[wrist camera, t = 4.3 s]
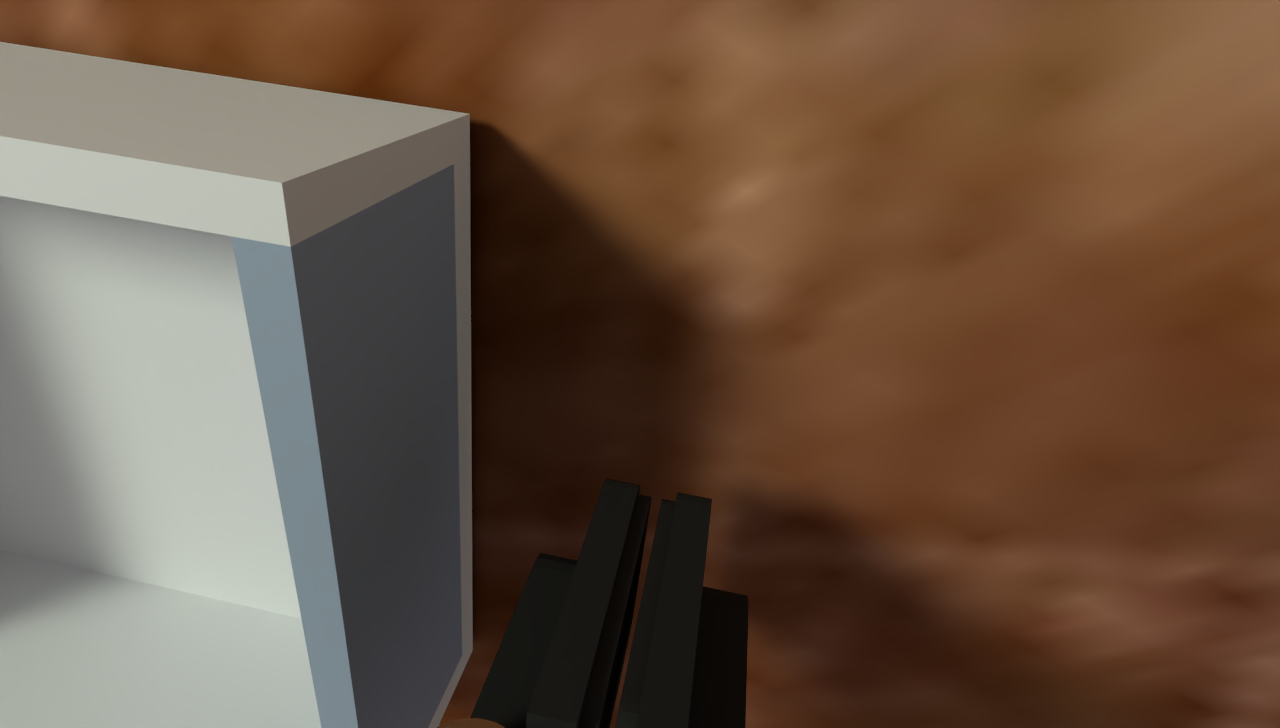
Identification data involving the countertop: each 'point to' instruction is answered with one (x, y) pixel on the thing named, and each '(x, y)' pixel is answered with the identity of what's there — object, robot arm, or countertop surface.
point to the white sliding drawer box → (230, 401)
